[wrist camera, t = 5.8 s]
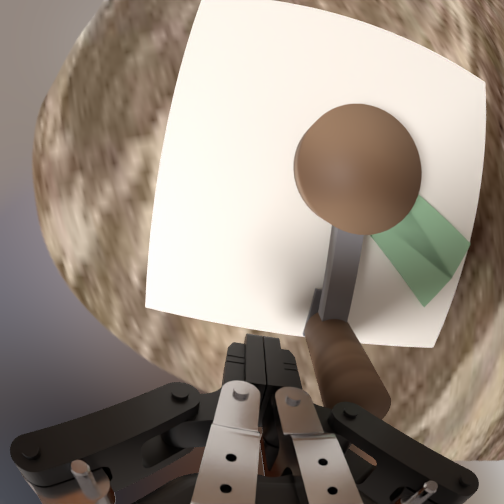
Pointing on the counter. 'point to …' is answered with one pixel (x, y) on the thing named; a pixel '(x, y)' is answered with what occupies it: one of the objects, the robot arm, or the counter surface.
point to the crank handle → (352, 232)
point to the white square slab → (282, 175)
